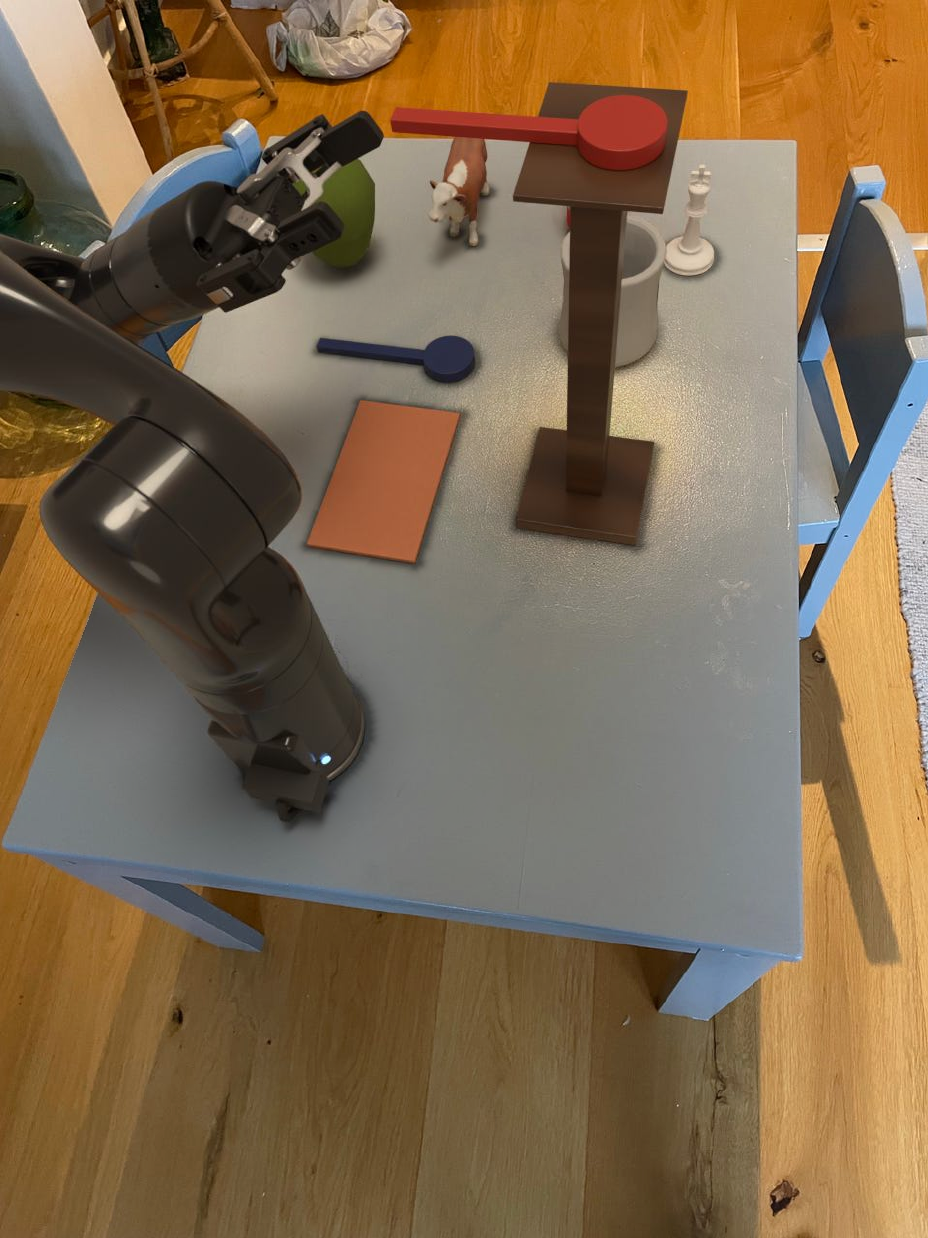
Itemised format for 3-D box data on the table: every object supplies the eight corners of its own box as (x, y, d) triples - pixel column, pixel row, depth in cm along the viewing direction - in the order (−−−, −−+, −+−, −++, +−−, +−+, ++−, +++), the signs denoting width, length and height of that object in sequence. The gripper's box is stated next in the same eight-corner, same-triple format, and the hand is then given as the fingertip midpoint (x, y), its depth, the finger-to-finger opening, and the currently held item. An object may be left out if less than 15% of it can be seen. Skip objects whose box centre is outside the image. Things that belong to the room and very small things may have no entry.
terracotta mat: (415, 563, 77) (414, 561, 77) (307, 546, 79) (306, 543, 78) (460, 415, 84) (460, 412, 84) (361, 402, 86) (360, 399, 86)
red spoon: (658, 174, 49) (661, 153, 48) (383, 152, 52) (379, 132, 51) (671, 117, 52) (673, 96, 50) (405, 100, 54) (402, 80, 53)
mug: (674, 351, 86) (687, 263, 77) (584, 385, 85) (587, 299, 76) (614, 267, 91) (621, 177, 83) (529, 298, 90) (526, 209, 82)
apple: (318, 300, 93) (289, 200, 83) (294, 248, 97) (263, 147, 87) (399, 272, 94) (380, 169, 84) (372, 222, 98) (351, 118, 87)
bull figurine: (429, 266, 94) (418, 196, 87) (460, 179, 100) (453, 106, 92) (471, 271, 93) (464, 200, 86) (500, 182, 99) (496, 109, 92)
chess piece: (711, 277, 90) (728, 185, 81) (660, 273, 90) (671, 182, 82) (715, 242, 92) (732, 149, 83) (665, 239, 93) (676, 146, 84)
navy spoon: (468, 385, 86) (467, 376, 85) (312, 366, 89) (309, 357, 88) (480, 347, 88) (479, 338, 87) (327, 329, 91) (324, 320, 90)
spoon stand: (635, 545, 76) (683, 209, 48) (516, 527, 78) (494, 193, 50) (653, 450, 80) (705, 90, 52) (539, 435, 82) (531, 80, 54)
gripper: (107, 289, 61) (274, 198, 51) (187, 150, 67) (349, 45, 57) (194, 367, 66) (361, 297, 56) (260, 230, 72) (421, 146, 62)
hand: (355, 169), depth 57 cm, fingers open, 8 cm apart
